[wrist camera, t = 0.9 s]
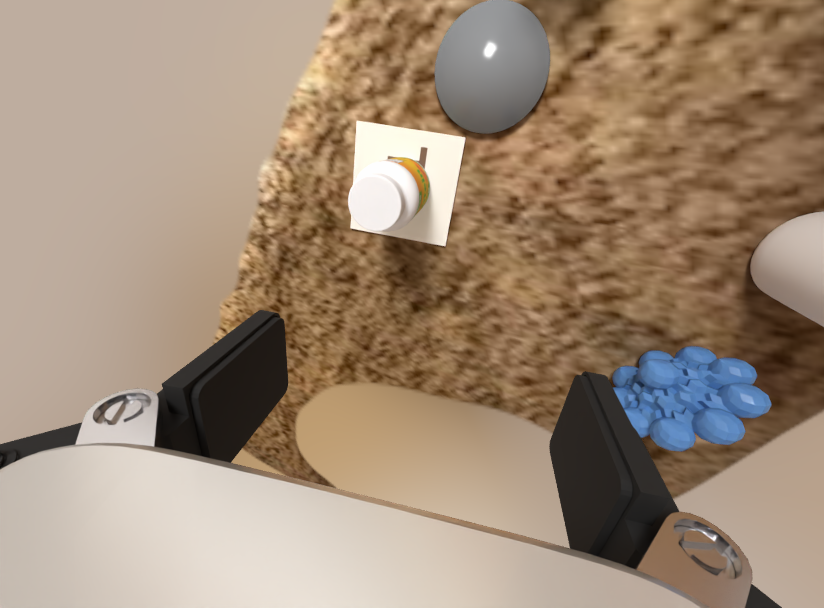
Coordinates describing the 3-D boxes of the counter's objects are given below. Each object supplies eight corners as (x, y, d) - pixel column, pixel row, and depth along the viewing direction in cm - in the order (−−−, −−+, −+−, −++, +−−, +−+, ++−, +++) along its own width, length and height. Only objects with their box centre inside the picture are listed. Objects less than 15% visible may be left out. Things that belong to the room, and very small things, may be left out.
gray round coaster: (445, -5, 27) (445, -7, 27) (564, 8, 26) (566, 6, 26) (427, 125, 31) (426, 125, 31) (530, 140, 30) (530, 141, 30)
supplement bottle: (433, 213, 34) (415, 239, 25) (380, 217, 35) (346, 243, 27) (428, 153, 32) (406, 159, 23) (372, 159, 33) (331, 168, 24)
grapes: (684, 294, 33) (777, 370, 22) (719, 344, 34) (823, 437, 24) (572, 355, 38) (605, 440, 27) (607, 396, 39) (651, 493, 29)
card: (357, 120, 32) (356, 120, 32) (465, 137, 31) (465, 137, 31) (351, 227, 37) (350, 228, 36) (445, 245, 35) (445, 246, 35)
